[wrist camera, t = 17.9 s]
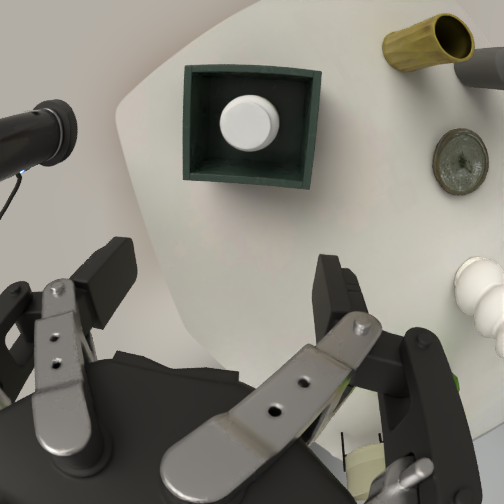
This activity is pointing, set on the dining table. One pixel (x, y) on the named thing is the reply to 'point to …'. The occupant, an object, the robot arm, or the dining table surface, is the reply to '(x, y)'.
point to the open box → (261, 161)
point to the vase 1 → (429, 43)
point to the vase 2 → (483, 297)
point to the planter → (363, 468)
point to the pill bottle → (249, 122)
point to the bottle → (483, 69)
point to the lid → (460, 162)
